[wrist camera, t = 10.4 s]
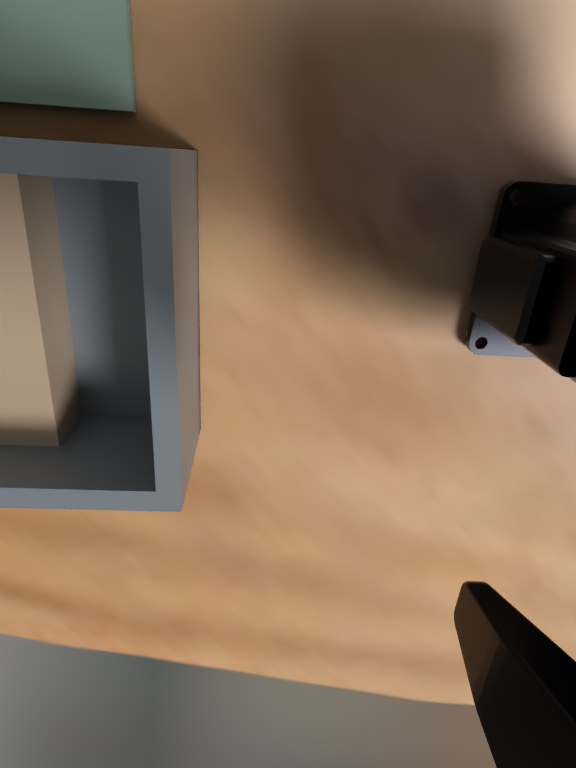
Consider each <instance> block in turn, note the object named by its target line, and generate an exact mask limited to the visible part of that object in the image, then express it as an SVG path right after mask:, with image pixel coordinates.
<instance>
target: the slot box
mask: <svg viewBox="0 0 576 768" xmlns="http://www.w3.org/2000/svg"><path fill="white" fill-rule="evenodd" d="M200 429H201V420H200V331H199V242H198V153H197V150H187V149H173V148H159V147H145V146H131V145H117V144H103V143H89V142H75V141H61V140H47V139H33V138H19V137H5V136H0V508H43V509H86V510H129V511H172V512H181V511H182V506H183V502H184V498H185V493H186V489H187V485H188V481H189V476H190V472H191V468H192V463H193V459H194V455H195V451H196V446H197V442H198V438H199V433H200Z"/></svg>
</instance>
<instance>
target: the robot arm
mask: <svg viewBox="0 0 576 768" xmlns="http://www.w3.org/2000/svg"><path fill="white" fill-rule="evenodd" d="M516 189H517V190H518V191H519V198H518V200H517V201H516V202H514V203H512V202H511V201H510V196H511V194H512V192H513V191H514V190H516ZM469 307H470V308H471V310H472V313H471V318H470V322H469V326H468V331H467V335H466V342H465V344H466V346H467V348H468V349H469V350H470V351H471V352H473V353H474V354H477V355H493V356H515V357H537V358H538V359H540V360H541V361H542V362H544V363H545V364H546V365H548V366H549V367H550V368H552V369H553V370H554V371H556V372H557V373H558V374H560V375H561V376H564V377H569V378H570V379H572V380H573V381H574V382H576V185H567V184H553V183H539V182H525V181H511V182H509V183H507V184H505V185H504V187H503V188H502V189H501V191H500V193H499V196H498V200H497V205H496V209H495V213H494V218H493V222H492V226H491V231H490V235H489V237H488V238H487V239H486V240H484V241H483V243H482V247H481V251H480V255H479V260H478V264H477V269H476V273H475V278H474V282H473V286H472V291H471V295H470V300H469ZM481 337H484V340H483V342H482V344H480V345H477V346H475V342H476V340H477V339H479V338H481ZM454 622H455V627H456V631H457V635H458V639H459V643H460V647H461V651H462V655H463V659H464V663H465V667H466V671H467V675H468V679H469V683H470V687H471V692H472V695H473V699H474V703H475V706H476V710H477V713H478V716H479V718H480V722H481V725H482V727H483V730H484V733H485V736H486V739H487V742H488V744H489V747H490V750H491V753H492V756H493V759H494V761H495V764H496V767H497V768H576V661H575V660H573V659H572V658H571V657H570V656H569V655H568V654H567V653H565V652H564V651H563V650H562V649H561V648H560V647H559V646H558V645H556V644H555V643H554V642H553V641H552V640H551V639H550V638H549V637H547V636H546V635H545V634H544V633H543V632H542V631H541V630H540V629H538V628H537V627H536V626H535V625H534V624H533V623H532V622H531V621H529V620H528V619H527V618H526V617H525V616H524V615H523V614H521V613H520V612H519V611H518V610H517V609H516V608H515V607H514V606H512V605H511V604H510V603H509V602H508V601H507V600H506V599H505V598H503V597H502V596H501V595H500V594H499V593H498V592H497V591H496V590H494V589H493V588H492V587H491V586H490V585H489V584H487V583H485V582H480V581H467V582H464V583H463V584H462V587H461V590H460V593H459V597H458V600H457V603H456V607H455V611H454Z"/></svg>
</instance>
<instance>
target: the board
mask: <svg viewBox="0 0 576 768" xmlns="http://www.w3.org/2000/svg"><path fill="white" fill-rule="evenodd" d="M0 102H5V103H18V104H31V105H44V106H57V107H70V108H83V109H97V110H110V111H123V112H136V102H135V85H134V67H133V50H132V32H131V14H130V0H0Z"/></svg>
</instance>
